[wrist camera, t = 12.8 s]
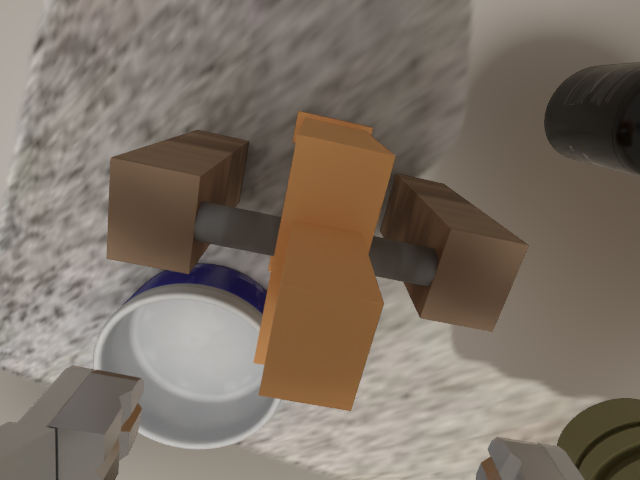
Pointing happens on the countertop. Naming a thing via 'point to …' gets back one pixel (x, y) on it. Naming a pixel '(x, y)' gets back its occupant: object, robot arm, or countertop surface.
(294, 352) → the orange stepped block
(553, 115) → the supplement bottle
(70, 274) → the countertop surface
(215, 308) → the dog bowl
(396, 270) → the crossbar stand
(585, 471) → the piston
